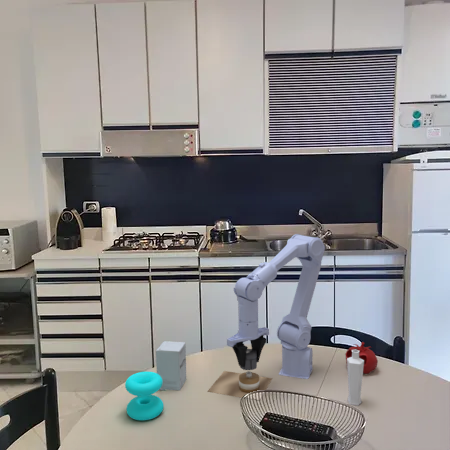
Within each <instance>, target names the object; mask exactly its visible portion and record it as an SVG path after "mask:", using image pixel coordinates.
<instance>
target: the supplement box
mask: <svg viewBox="0 0 450 450" xmlns="http://www.w3.org/2000/svg"><path fill="white" fill-rule="evenodd" d="M186 348H187V347H186V342H185V341H169V340H168V341H165V340H164V341H162V342H161V344H160V345H159V346H158V347H157V349H156V350H155V363H156V365H155V366H156V373H157V374H159V375H160V376H161V378H162V380H163V383H162V386H161V388H160V389H159V390H158V391H166V390H169V391H171V390H172V391H181V390H182V387H183V386H184V384H185V382H186V381H187V350H186Z"/></svg>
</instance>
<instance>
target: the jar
mask: <svg viewBox="0 0 450 450" xmlns="http://www.w3.org/2000/svg"><path fill="white" fill-rule="evenodd" d="M259 376H260V375H259V374H258V373H256V372H252V371H251V370H247V371H246V372H242V373H241V374H240V375H239V389H240V390H241V391H242V392H245V393H250V392H253V391H257V390H259Z"/></svg>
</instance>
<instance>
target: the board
mask: <svg viewBox="0 0 450 450" xmlns="http://www.w3.org/2000/svg"><path fill="white" fill-rule="evenodd" d="M240 374H242V373H241V372H240V373H239V372H235V371H228V370H227V371H226V370H224V371H223V372H222V373H221V374H220V375H219V377H218V378H217V379H216V380H215V381H214V383H212V385H211V386H210V388H208V390H207V393H213V394H219V395H225V396H230V397H236V398H242V397H243V396H244V395H245V394H247V393H245V392H242V391H241V390H240V389H239V375H240ZM272 380H273V377H266V376H260V375H259V390H266V391H267V389H268V387H269V386H270V383H271V382H272ZM242 399H243V398H242Z"/></svg>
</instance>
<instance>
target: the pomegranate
mask: <svg viewBox="0 0 450 450" xmlns="http://www.w3.org/2000/svg"><path fill="white" fill-rule="evenodd" d="M354 345H355V346H354ZM355 349H356V350H359V351H360V352H359V358H361V359H362V360H364V366H363V374H367V375H368V374H371V372H373V371H375V370H377V369H376V368H377V366H378V362H379V360H378V358H377V356H376V353H375V352H374V351H373V350H371V349H370V346H366V347H365V342H364V341H362V342H361V343H360V346H359V345H358V344H356V343H355V344H353V346H351V347H349V348H348V349H347V350H346V352H345V354H344V355H345V360H346V361H345V363H346V365H347V358H350V357H352V350H355Z"/></svg>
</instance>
